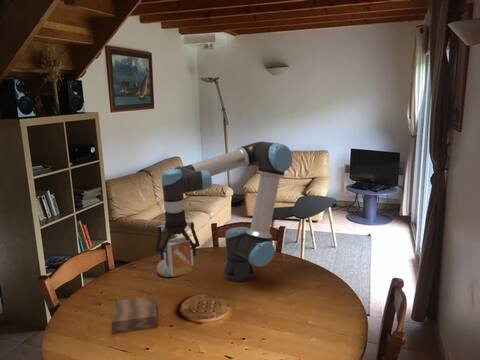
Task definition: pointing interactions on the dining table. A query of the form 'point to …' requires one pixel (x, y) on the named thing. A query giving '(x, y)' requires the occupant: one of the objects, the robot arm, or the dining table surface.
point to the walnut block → (134, 314)
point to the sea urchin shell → (163, 269)
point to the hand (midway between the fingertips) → (179, 265)
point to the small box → (178, 256)
